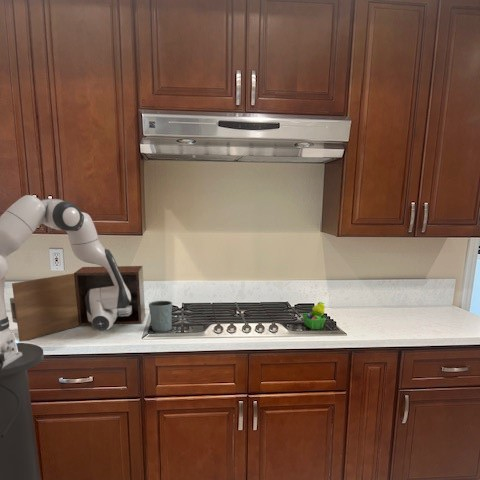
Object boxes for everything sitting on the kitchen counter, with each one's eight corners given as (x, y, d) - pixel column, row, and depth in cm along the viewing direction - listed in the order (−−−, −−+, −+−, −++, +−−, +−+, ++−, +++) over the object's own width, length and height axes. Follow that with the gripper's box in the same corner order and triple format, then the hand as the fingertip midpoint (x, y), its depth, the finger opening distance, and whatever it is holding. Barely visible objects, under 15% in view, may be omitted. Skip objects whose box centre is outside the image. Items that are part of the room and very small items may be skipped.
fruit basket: (300, 324, 216) (301, 300, 213) (318, 322, 218) (319, 299, 215) (310, 330, 205) (311, 305, 202) (328, 329, 207) (330, 304, 204)
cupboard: (141, 323, 216) (138, 271, 210) (78, 325, 213) (73, 272, 207) (145, 314, 233) (142, 265, 227) (87, 315, 231) (82, 266, 224)
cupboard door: (11, 338, 193) (3, 281, 187) (69, 323, 216) (64, 272, 210) (20, 341, 190) (13, 283, 183) (79, 325, 212) (74, 273, 206)
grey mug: (177, 329, 208) (176, 302, 205) (159, 333, 201) (158, 306, 197) (163, 324, 214) (161, 299, 211) (145, 329, 207) (143, 303, 204)
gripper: (130, 306, 208) (134, 299, 221) (83, 307, 205) (89, 300, 219) (131, 320, 209) (134, 312, 222) (84, 321, 207) (91, 313, 220)
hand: (112, 306), depth 221 cm, fingers open, 8 cm apart
